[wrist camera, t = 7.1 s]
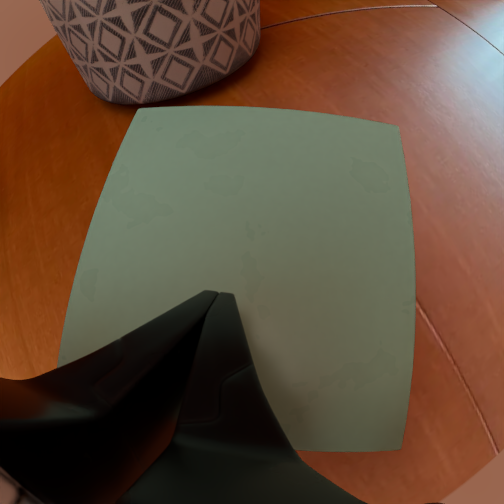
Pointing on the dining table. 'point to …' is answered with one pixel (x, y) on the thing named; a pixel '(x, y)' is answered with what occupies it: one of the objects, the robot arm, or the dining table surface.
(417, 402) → the dining table surface
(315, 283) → the lid
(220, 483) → the robot arm
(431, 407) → the dining table surface
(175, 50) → the planter
